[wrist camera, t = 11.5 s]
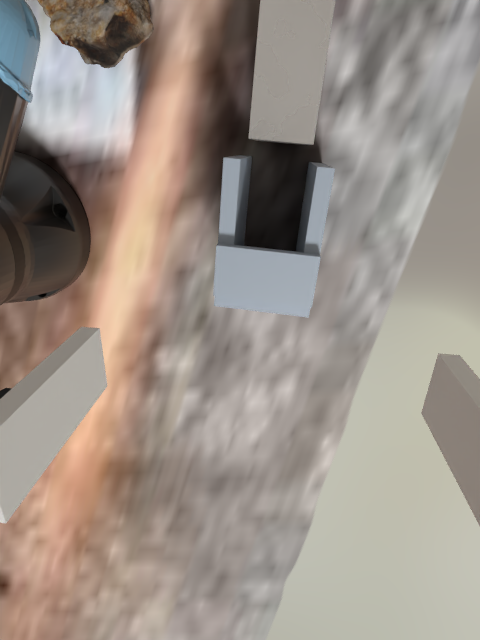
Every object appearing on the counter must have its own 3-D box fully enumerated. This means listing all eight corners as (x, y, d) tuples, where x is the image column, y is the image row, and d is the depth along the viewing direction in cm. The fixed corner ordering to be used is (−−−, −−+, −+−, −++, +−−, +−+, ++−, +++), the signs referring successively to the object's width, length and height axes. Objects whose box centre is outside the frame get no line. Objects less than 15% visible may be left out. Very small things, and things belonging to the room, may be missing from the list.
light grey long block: (256, 140, 35) (247, 138, 26) (282, -138, 27) (281, -263, 19) (307, 145, 34) (314, 144, 26) (348, -135, 27) (375, -260, 19)
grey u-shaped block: (230, 269, 40) (212, 309, 30) (239, 155, 36) (221, 157, 26) (303, 278, 40) (309, 321, 30) (322, 163, 35) (336, 169, 25)
